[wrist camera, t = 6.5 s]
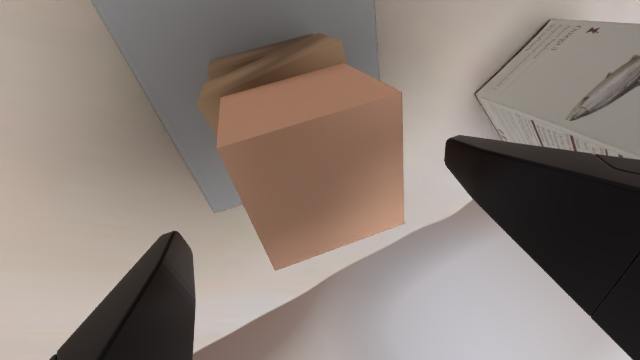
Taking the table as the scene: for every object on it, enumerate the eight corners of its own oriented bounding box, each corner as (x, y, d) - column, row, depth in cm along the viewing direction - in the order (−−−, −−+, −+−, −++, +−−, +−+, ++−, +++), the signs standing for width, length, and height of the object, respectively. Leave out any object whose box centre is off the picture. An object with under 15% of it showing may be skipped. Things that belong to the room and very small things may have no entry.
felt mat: (367, -71, 14) (369, -72, 14) (382, 155, 22) (384, 157, 22) (88, -9, 13) (85, -9, 12) (214, 210, 21) (214, 213, 20)
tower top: (318, 32, 13) (340, 39, 10) (350, 137, 16) (373, 162, 14) (202, 84, 13) (196, 104, 10) (260, 179, 16) (266, 211, 14)
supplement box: (551, 14, 20) (893, 25, 10) (570, 83, 24) (825, 141, 14) (470, 93, 22) (689, 173, 11) (501, 144, 26) (682, 237, 15)
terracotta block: (343, 62, 11) (402, 92, 7) (357, 165, 14) (403, 223, 10) (220, 97, 10) (216, 148, 7) (262, 197, 13) (275, 270, 10)
